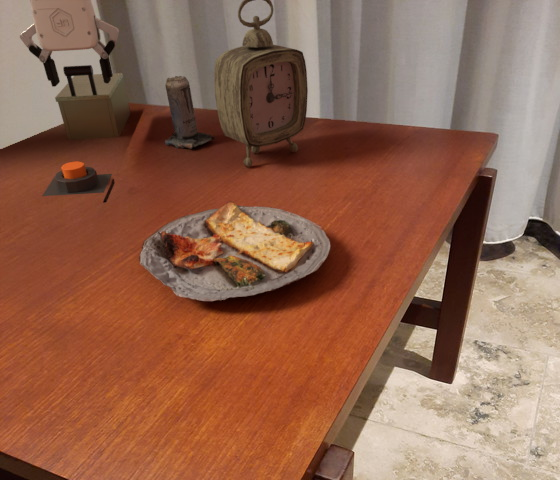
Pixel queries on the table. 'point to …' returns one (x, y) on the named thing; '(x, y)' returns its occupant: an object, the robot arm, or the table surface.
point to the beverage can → (183, 115)
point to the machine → (96, 116)
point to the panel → (80, 184)
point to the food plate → (234, 251)
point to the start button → (74, 170)
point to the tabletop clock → (261, 90)
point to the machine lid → (87, 84)
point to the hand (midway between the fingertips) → (82, 83)
